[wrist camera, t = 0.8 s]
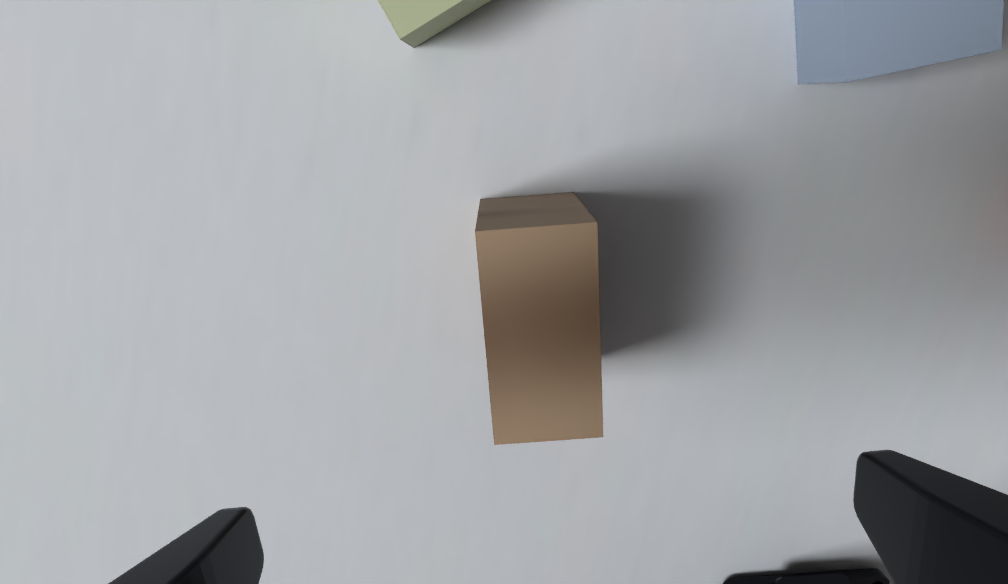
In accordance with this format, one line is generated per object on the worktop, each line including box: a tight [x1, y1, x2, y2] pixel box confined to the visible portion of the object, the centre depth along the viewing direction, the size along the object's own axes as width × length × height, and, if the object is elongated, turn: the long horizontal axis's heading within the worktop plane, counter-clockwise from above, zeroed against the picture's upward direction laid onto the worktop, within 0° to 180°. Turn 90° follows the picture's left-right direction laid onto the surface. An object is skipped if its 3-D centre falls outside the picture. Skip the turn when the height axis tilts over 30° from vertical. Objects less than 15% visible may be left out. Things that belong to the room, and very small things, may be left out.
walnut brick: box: [475, 192, 603, 445], centre depth 18 cm, size 6×3×5 cm, turn 4°
